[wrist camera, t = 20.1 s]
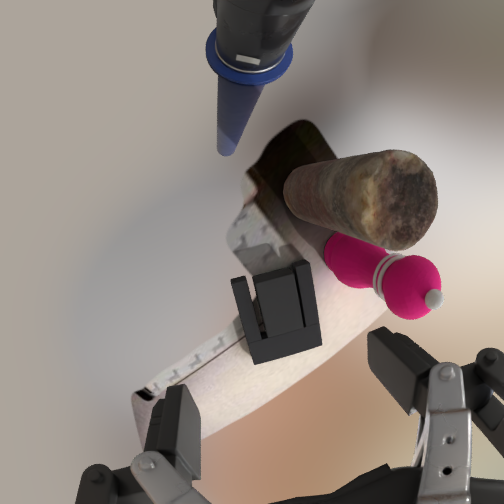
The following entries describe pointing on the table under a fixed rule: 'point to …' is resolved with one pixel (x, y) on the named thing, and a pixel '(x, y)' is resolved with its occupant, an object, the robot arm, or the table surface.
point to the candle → (367, 197)
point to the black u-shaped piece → (287, 342)
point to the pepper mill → (386, 275)
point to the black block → (278, 301)
